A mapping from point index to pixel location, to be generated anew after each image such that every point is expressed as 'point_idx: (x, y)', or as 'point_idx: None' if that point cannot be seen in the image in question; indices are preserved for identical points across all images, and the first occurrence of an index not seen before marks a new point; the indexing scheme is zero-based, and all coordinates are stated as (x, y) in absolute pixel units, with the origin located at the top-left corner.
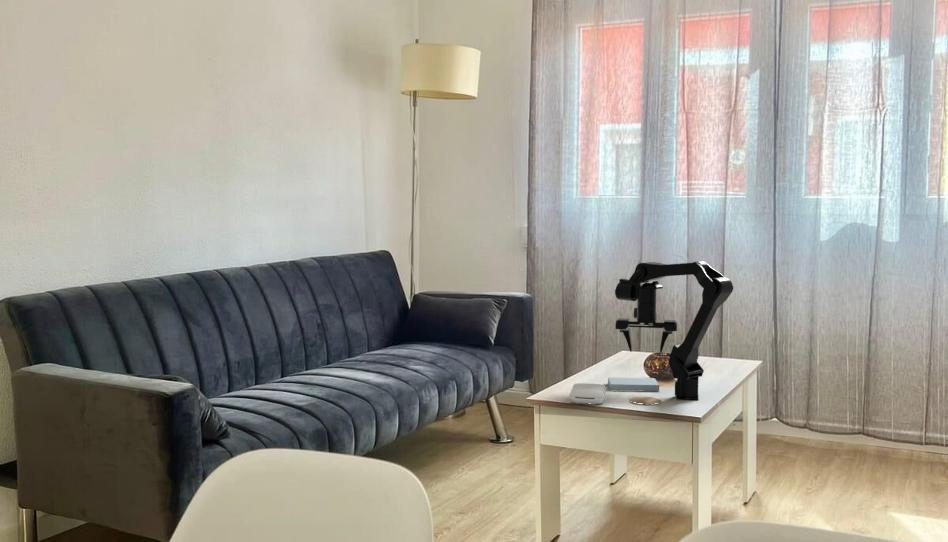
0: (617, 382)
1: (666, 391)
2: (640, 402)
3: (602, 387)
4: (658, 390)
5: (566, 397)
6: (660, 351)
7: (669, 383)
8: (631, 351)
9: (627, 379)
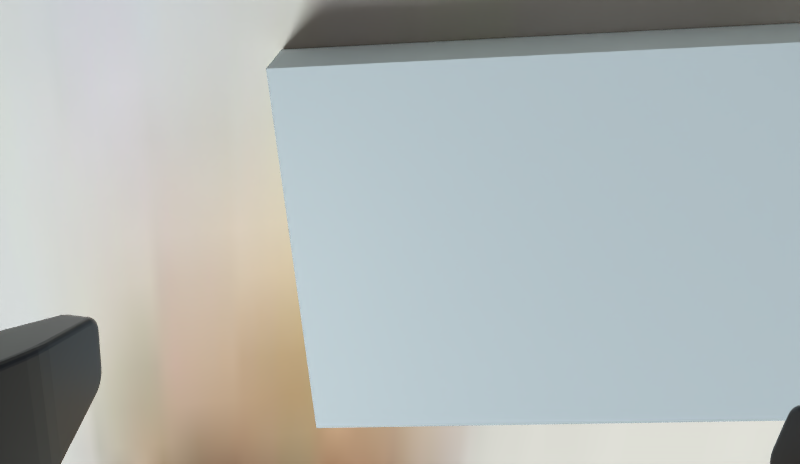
0: (791, 164)
1: (199, 65)
2: None
3: None
4: (288, 51)
5: None
6: (71, 325)
7: (187, 433)
8: (792, 409)
9: (626, 340)
